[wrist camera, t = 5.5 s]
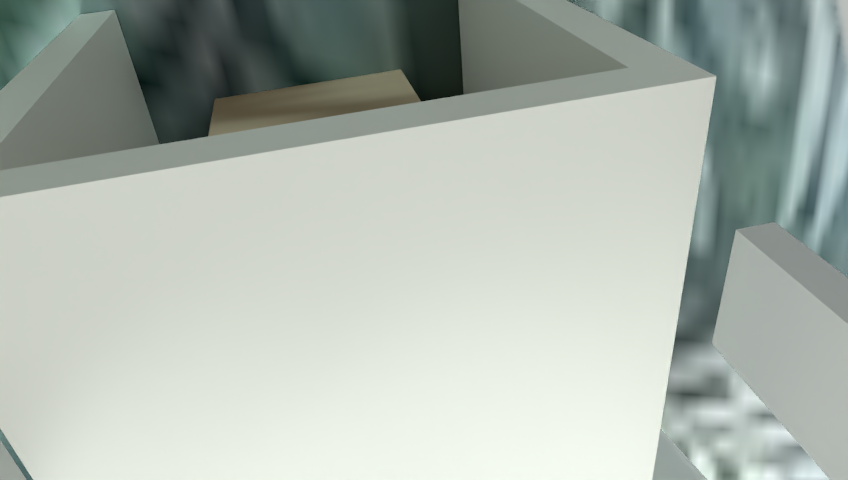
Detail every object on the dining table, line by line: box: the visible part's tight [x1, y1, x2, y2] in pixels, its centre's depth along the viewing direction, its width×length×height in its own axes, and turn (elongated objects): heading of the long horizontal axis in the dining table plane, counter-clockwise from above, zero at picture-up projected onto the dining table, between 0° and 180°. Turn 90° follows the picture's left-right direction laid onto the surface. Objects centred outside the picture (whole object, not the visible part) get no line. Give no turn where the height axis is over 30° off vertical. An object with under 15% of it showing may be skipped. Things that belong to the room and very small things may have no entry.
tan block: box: [208, 69, 421, 136], centre depth 17 cm, size 5×5×5 cm
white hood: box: [0, 0, 717, 480], centre depth 14 cm, size 10×10×10 cm
